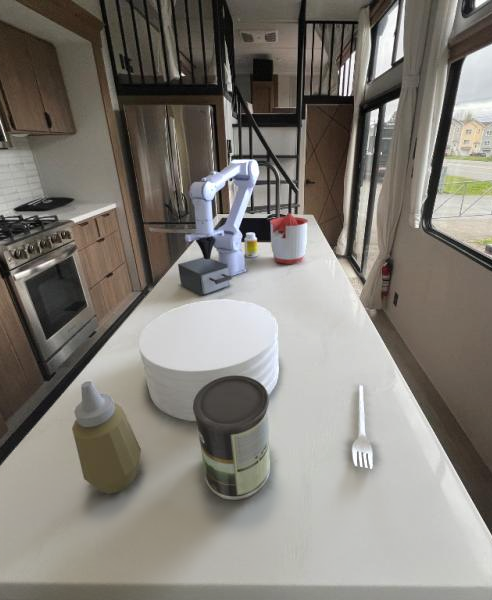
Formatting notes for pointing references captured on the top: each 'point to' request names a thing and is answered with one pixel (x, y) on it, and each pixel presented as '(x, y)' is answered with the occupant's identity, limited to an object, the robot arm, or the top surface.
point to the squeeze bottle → (105, 442)
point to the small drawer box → (197, 273)
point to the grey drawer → (215, 280)
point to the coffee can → (234, 435)
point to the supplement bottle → (250, 245)
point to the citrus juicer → (288, 239)
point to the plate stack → (206, 350)
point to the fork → (362, 437)
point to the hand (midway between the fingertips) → (207, 258)
